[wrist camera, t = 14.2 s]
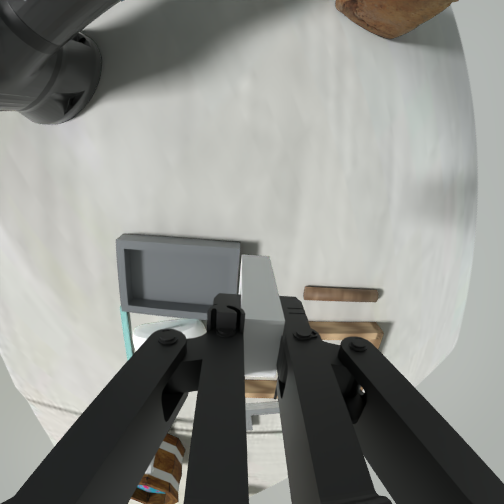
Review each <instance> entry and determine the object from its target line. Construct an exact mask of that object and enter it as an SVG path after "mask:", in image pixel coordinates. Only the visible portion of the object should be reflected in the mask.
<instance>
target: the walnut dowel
mask: <svg viewBox="0 0 504 504" xmlns="http://www.w3.org/2000/svg"><path fill="white" fill-rule="evenodd" d="M303 296H304V300H320V301H349V302H377V300H378V291H377V290H367V289H343V288H322V287H305V289H304V295H303Z"/></svg>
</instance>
